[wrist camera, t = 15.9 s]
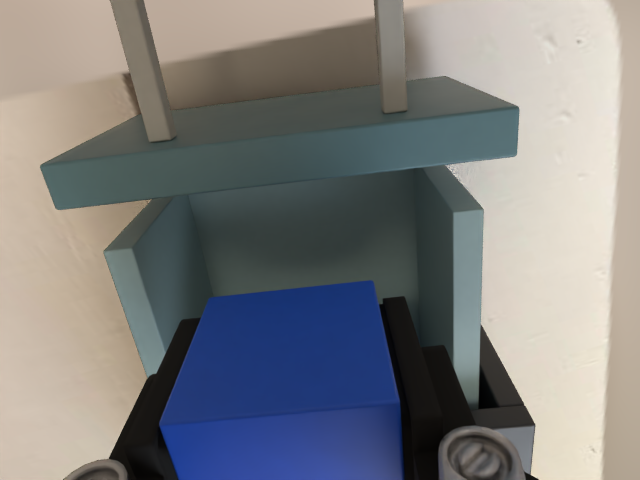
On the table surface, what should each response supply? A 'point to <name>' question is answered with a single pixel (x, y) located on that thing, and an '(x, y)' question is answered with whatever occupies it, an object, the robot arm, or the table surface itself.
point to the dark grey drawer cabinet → (502, 404)
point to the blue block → (287, 390)
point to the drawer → (295, 194)
